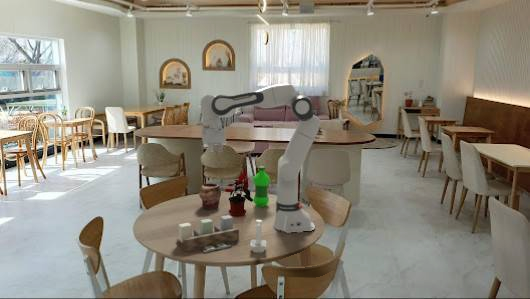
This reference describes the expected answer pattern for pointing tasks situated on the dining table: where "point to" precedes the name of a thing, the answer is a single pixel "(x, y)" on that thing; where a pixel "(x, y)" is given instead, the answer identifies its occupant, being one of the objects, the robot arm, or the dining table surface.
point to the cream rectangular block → (185, 231)
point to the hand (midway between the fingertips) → (216, 152)
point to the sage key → (206, 226)
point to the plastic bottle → (261, 187)
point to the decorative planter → (210, 195)
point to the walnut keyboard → (210, 240)
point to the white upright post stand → (258, 239)
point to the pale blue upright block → (226, 222)
